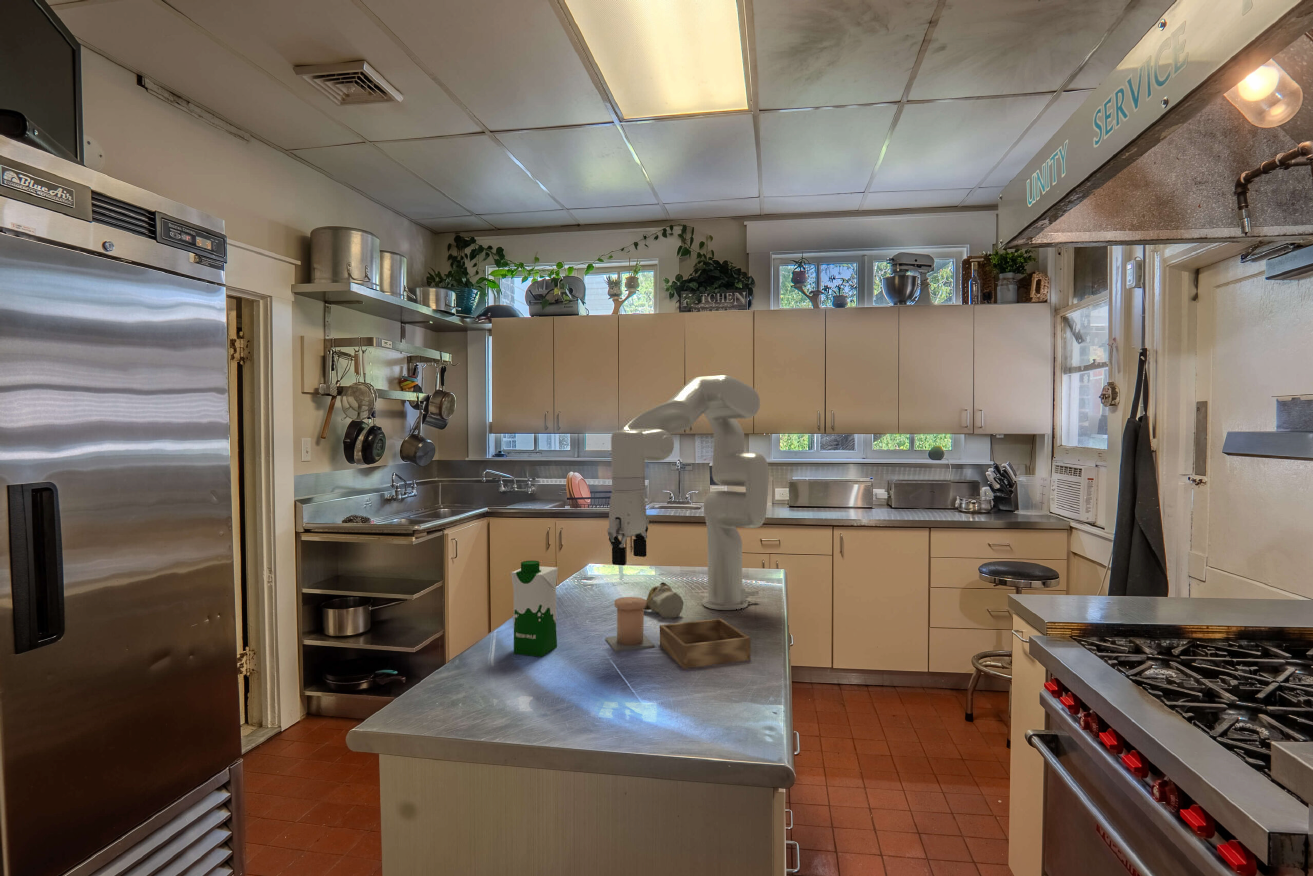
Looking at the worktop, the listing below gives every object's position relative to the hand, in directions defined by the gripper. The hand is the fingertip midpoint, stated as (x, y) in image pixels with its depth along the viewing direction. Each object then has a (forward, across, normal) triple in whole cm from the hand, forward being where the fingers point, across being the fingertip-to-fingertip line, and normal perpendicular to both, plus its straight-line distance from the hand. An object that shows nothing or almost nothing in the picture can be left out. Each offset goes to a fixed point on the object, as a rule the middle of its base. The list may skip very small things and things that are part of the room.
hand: (629, 560), depth 147 cm
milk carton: (+19, +12, -17) cm, 29 cm away
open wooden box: (+19, -1, +17) cm, 26 cm away
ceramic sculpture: (+20, -26, -5) cm, 33 cm away
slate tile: (+19, 0, 0) cm, 19 cm away
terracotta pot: (+18, 0, 0) cm, 18 cm away
